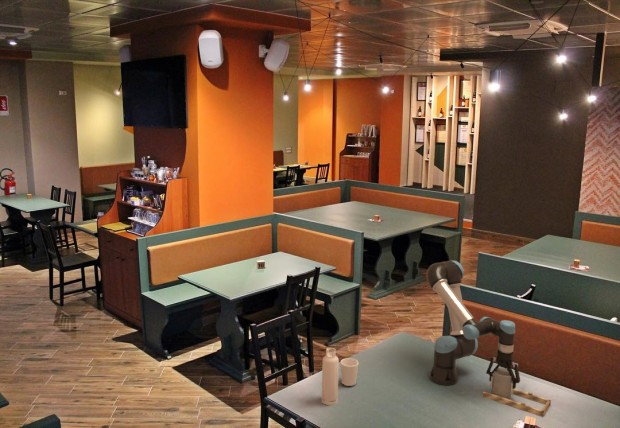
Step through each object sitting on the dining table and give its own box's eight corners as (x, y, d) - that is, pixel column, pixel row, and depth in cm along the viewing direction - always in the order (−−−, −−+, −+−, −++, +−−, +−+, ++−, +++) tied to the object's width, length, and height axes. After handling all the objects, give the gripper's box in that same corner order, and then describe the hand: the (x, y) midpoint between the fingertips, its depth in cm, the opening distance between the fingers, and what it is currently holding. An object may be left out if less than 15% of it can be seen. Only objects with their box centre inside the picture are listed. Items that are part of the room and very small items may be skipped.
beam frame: (482, 396, 283) (483, 391, 283) (491, 386, 294) (492, 380, 294) (543, 416, 265) (543, 410, 265) (550, 404, 276) (551, 399, 276)
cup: (337, 386, 291) (337, 364, 289) (342, 378, 300) (343, 356, 298) (354, 389, 287) (355, 367, 285) (360, 381, 296) (361, 360, 294)
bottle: (339, 398, 279) (341, 347, 273) (334, 406, 271) (336, 354, 266) (324, 395, 281) (325, 345, 276) (319, 403, 274) (320, 351, 268)
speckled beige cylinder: (512, 399, 279) (514, 377, 276) (492, 397, 280) (494, 375, 278) (509, 390, 288) (511, 369, 285) (490, 388, 290) (492, 367, 287)
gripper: (481, 347, 283) (478, 386, 287) (525, 359, 270) (521, 400, 274) (486, 342, 289) (483, 381, 293) (529, 354, 276) (525, 394, 280)
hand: (501, 390), depth 284 cm, fingers closed on speckled beige cylinder, 9 cm apart
